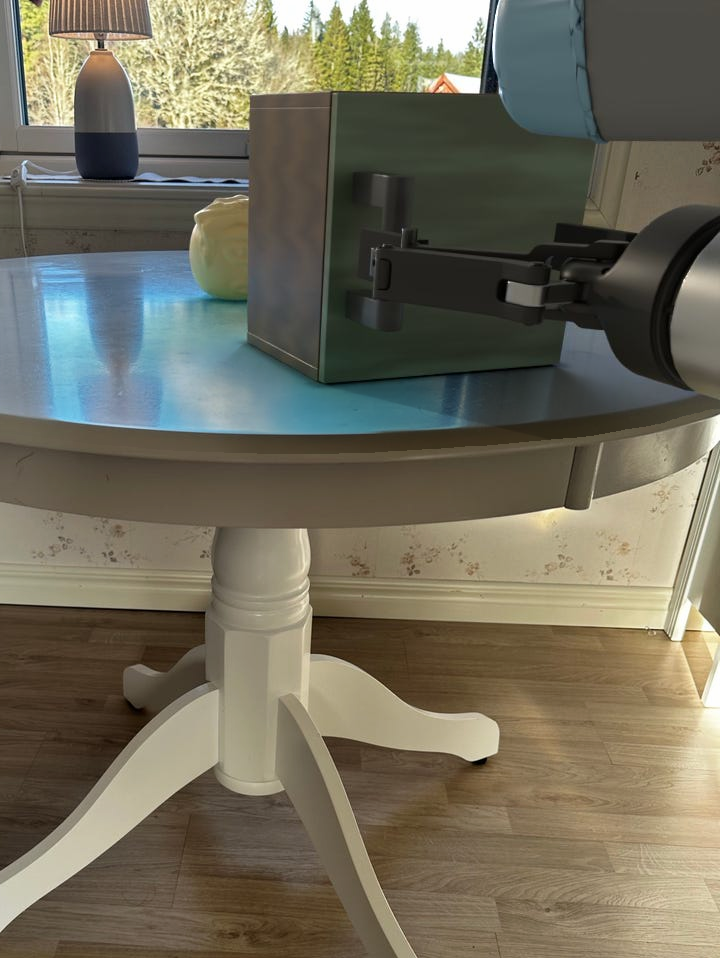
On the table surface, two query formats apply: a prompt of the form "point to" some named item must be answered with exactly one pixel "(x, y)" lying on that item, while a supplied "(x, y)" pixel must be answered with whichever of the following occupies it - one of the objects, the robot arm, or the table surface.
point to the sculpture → (221, 248)
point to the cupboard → (290, 222)
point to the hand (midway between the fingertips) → (464, 249)
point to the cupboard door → (438, 226)
